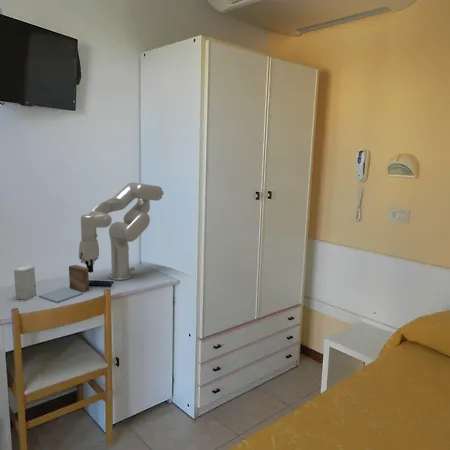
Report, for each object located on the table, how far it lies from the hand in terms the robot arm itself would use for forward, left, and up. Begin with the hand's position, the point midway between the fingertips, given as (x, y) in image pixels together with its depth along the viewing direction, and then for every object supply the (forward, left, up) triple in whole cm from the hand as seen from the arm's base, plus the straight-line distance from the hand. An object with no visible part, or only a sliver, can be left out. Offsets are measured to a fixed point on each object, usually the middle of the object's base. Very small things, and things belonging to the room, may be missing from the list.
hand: (90, 271), depth 224 cm
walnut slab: (+7, 0, -8) cm, 11 cm away
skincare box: (+29, -12, -8) cm, 33 cm away
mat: (+18, 0, -8) cm, 20 cm away
